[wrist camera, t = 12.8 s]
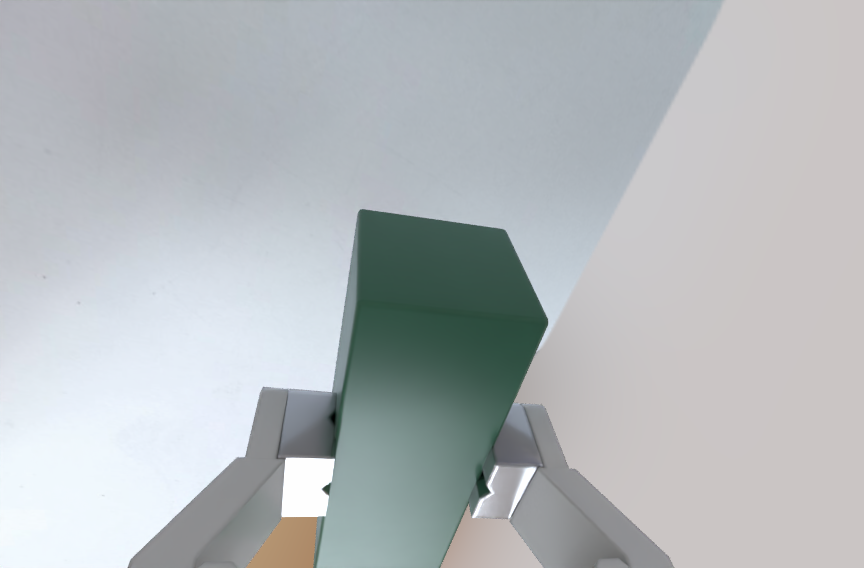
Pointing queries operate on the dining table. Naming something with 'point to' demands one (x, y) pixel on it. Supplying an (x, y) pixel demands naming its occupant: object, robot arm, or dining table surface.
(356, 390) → the green rectangular prism
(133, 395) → the dining table surface
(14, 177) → the dining table surface
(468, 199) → the dining table surface
